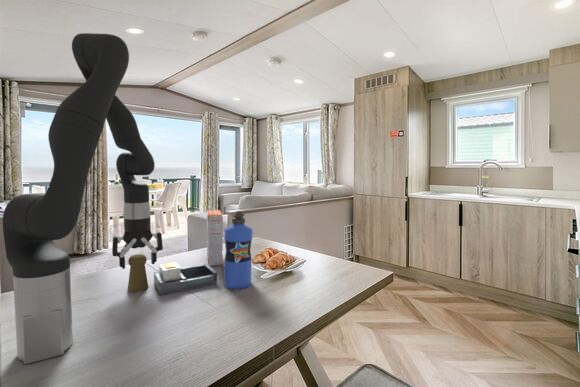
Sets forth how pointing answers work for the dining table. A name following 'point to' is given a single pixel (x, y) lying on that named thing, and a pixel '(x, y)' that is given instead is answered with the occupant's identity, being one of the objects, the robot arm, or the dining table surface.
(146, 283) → the cork
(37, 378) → the dining table surface
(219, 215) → the cracker box
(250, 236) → the water bottle
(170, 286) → the gray desk organizer
